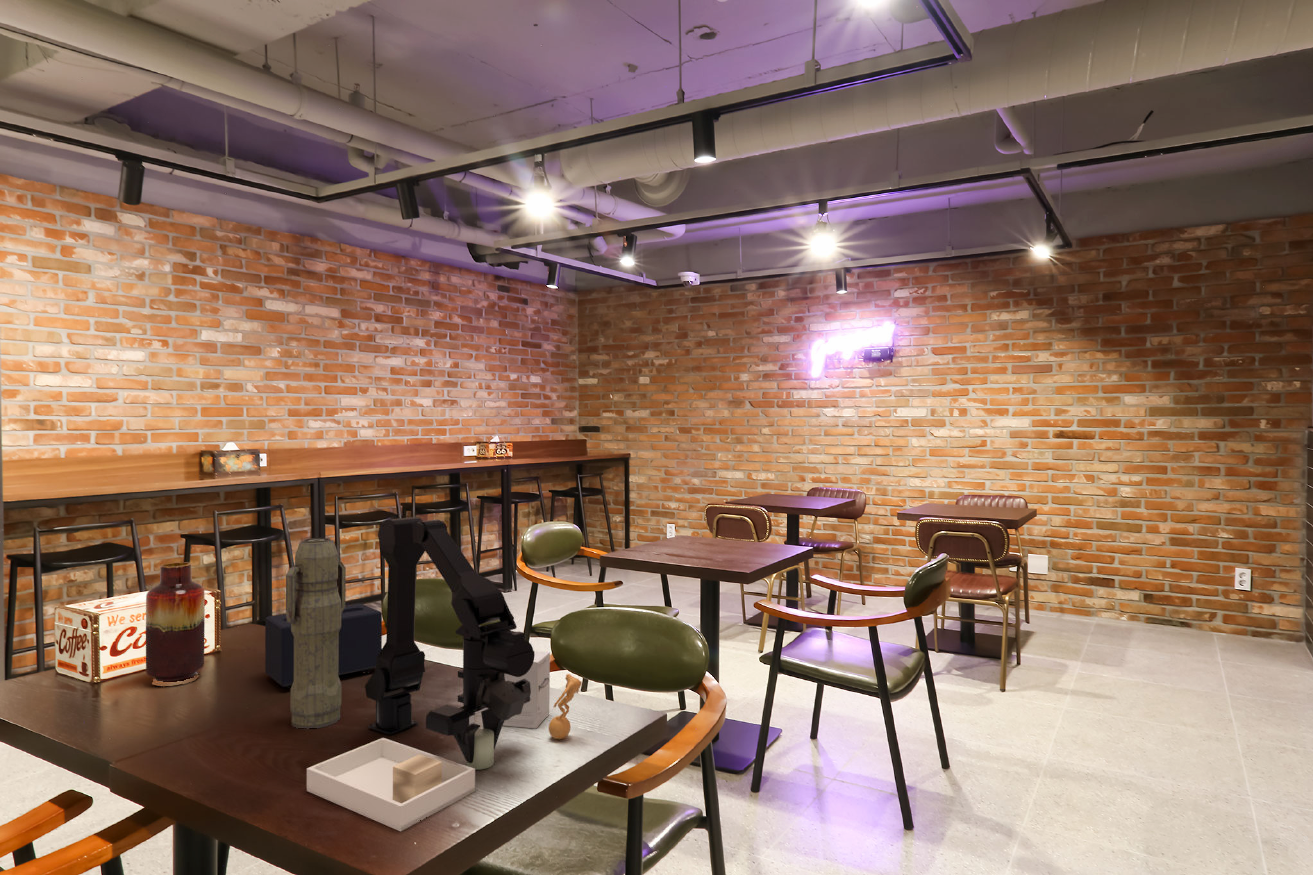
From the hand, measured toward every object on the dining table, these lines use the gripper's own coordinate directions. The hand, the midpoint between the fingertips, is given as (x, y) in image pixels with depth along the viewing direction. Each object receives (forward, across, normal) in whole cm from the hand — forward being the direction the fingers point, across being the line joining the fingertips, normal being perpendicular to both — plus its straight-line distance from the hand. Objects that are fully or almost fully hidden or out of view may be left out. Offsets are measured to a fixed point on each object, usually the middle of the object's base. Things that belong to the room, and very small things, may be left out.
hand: (480, 757), depth 125 cm
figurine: (+2, +16, -5) cm, 17 cm away
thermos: (+2, -3, +41) cm, 41 cm away
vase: (+2, -6, +89) cm, 89 cm away
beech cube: (+1, -14, -1) cm, 14 cm away
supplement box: (+2, +19, +7) cm, 20 cm away
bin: (+1, -14, +5) cm, 15 cm away
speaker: (+2, +14, +64) cm, 66 cm away
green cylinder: (+1, 0, 0) cm, 1 cm away
